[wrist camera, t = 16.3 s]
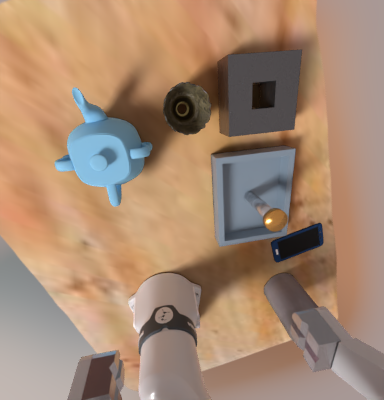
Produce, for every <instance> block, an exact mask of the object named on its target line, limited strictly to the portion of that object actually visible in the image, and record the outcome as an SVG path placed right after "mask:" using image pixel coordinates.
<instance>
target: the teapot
mask: <svg viewBox="0 0 384 400" xmlns="http://www.w3.org/2000/svg"><path fill="white" fill-rule="evenodd" d="M72 94H73V97H74V100H75V102H76V104H77V105H78V107H79V109H80V110H81V112H82V114H83V117H84V119H85V123H83V124H81V125H79V126H78V127H76V128H75V129H74V130H73V131H72V132H71V133H70V135H69V137H68V141H67V147H68V153H69V155H65V156H63V158H61V159H59V160H56V161H55V167H56V169H57V170H58V171H71V170H75V172H76V173H77V175H78V177H79V178H80V179H81V181H83V182H84V183H86V184H88V185H91V186H98V187H107V191H108V196H109V200H110V202H111V204H112V205H113V206H118V205H120V203H121V184H124V183H126V182H128V181H130V180H132V179H134V178H135V177H137V176H138V175H139V174H140V173H141V171H142V169H143V167H144V157H147V156H149V155H150V150H152V144H151V143H150V142H143V143H142V142H141V139H140V137H139V134H138V132H137V130H136V129H135V127H134V126H133V125H132V124H130V123H129V122H127V121H125V120H122V119H118V118H110V117H107V116H106V114H105V113H104V111H103V110H102V109H101V108H100V107H98V106H96V105H93V104H90V103H88V102H87V101H86V100H85V98H84V96H83V95H82V93H81V92H80V90H79V89H77V88H73V89H72Z"/></svg>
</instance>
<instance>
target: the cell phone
mask: <svg viewBox="0 0 384 400" xmlns="http://www.w3.org/2000/svg"><path fill="white" fill-rule="evenodd" d="M321 245H323V232H322V224H321V223H318V224H315V225H312V226H309V227H307V228H304V229H302V230H299V231H297V232H294V233H291V234H289V235H286V236H284V237H281V238H279V239H276V240H274V241H272V242H271V246H272V251H273V255H274V260H275V261H276V262H281V261H283V260H286V259H288V258H291V257H293V256H296V255H299V254H301V253H304V252H306V251H309V250H311V249H314V248H317V247H319V246H321Z"/></svg>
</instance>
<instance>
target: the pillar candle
mask: <svg viewBox="0 0 384 400" xmlns="http://www.w3.org/2000/svg"><path fill="white" fill-rule="evenodd" d="M264 294H265V295H266V297H267V299H268V301H269V303H270V305H271V306H272V308H273V309H274V311H275V313H276V314H277V316H278V317H279V319H280V321H281V323H282V324H283V326H284V328H285V329H286V331H287V333H288V334H289V336H290V338H291V339H292V341H294V339H293V337H292V334H291V324H292V323H293V322H294V320H293V319H292V314H293V313H294V312H299V311H303V310H307V309H312V308H318V306H317V305H316V304H315V302H314V301H313V300H312V299H311V298H310V296H309V295H308V294H307V293H306V291H305V290H304V289H303V288H302V287H301V285H300V284H299V283H298V282H297V280H296V279H295V278H294V277H293V276H292V275H291V274H288V273H281V274H277V275H275V276H273V277H272V278H270V280H269V281H268V282H267V283H266V285H265V287H264ZM294 342H295V341H294Z"/></svg>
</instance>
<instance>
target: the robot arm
mask: <svg viewBox="0 0 384 400" xmlns="http://www.w3.org/2000/svg"><path fill="white" fill-rule="evenodd" d="M200 296H201V286H199V285H197V284H194V283H191V282H190V281H189V280H187V279H186V278H185V277H183V276H181V275H178V274H174V273H162V274H158V275H155V276H152V277H150V278H149V279H147V280H146V281H144V282H143V283H142V285H141V286H140V287H139V289H138V291H137V292H136V293H135V294H134V295H133V296H131V297H130V298H129V300H128V304H129V306H130V308H131V309H132V311H133V313H134V323H133V326H134V328H135V329H136V331H137V332H138V334H139V341H138V346H139V354H140V374H139V396H140V399H141V400H212V399H211V397H210V395H209V393H208V391H207V389H206V386H205V383H204V380H203V376H202V372H201V369H200V364H199V360H198V355H197V349H196V346H197V334H196V330H195V328H200V320H199V319H200V316H199V312H198V309H199V302H200ZM292 319H293V320H294V322H293V323H292V324H291V334H292V337H293V339H294V341H295V343H296V345H297V346H298V347H299V348H301V349H302V350H303V351H304V353H303V357H304V358H305V360H306V362H307V363H308V365H309V367H310V368H311V370H312V371H313V372H316V371H321V370H326V369H331V370H332V371H333V372H335V373H336V374H337V375H338V376H340V377H341V378H342V379H343V380H345V381H346V382H347V383H348V384H349V385H351V386H352V387H353V388H354V389H355V390H357V391H358V392H359V393H360V394H362V395H363V396H364V397H365V398H367V399H368V400H384V354H383V353H381V352H380V351H378V350H376V349H374V348H373V347H371V346H369V345H367V344H366V343H364V342H362V341H360V340H358V339H357V338H354V339H353V338H352V337H351V336H350V335H349V334H348V332H347V331H346V330H345V329H344V328H343V326H341V324H340V323H339V322H338V321H337V320H336V318H335V317H334V316H333V315H332V314H331V313H330V311H329V310H328V309H327V308H326V307H318V308H312V309H307V310H303V311H299V312H294V313H293V314H292ZM123 386H124V364H123V361H122V360H120V353H119V350H115V351H110V352H105V353H100V354H95V355H89V356H85V357H81V359H80V361H79V363H78V366H77V369H76V372H75V376H74V379H73V383H72V386H71V389H70V393H69V396H68V399H67V400H122V397H121V394H120V391H121V389H122V387H123Z"/></svg>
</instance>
